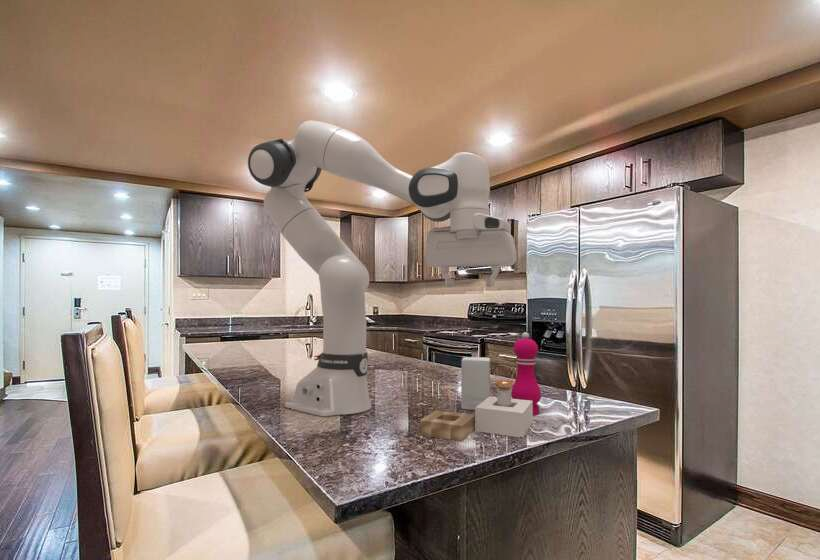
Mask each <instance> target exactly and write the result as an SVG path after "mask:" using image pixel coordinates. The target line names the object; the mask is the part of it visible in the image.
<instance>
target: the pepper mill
mask: <svg viewBox="0 0 820 560" xmlns="http://www.w3.org/2000/svg"><path fill="white" fill-rule="evenodd" d="M521 337H522V338H519V339H517V340H516V341H515V342H514V344H513V352H514V354H515V356H516V357H515V364H516V366H517V371H516V372H517V373H516V374H517V375H516V377H515V380H514V381H513V387H511V399H520V400H530V401H533V416H537V415H539V414H540V405H538V403H539V402H540V400H541V398H542V393H541V389H540V386H539V384H538V381H537V378H536V376H535V374H536V373H535V365H536V364H537V362H536V361H537V358H536V355H538V352H539V346H538V344H537V342H536V341H535V340H534V339H530V333H528V332H526V331H525V332H523V333H522V335H521Z"/></svg>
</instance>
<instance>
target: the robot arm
mask: <svg viewBox="0 0 820 560" xmlns="http://www.w3.org/2000/svg"><path fill="white" fill-rule="evenodd" d="M247 168H248V171H249V174H250V175H251V177H252V178H253V179H254V180H255V182H257V183H259V184H261V185H263V186H266V187H270V189H269V190H268V191H267V193H266V194H265V196H264V199H263V207H264V209H265V211H266V213H267V216H268V217H269V219H270V220H271V221H272V223H273V224H274V226H275V228H276V229H277V230H278V232H279V233H280V234H281V236H282V237H283V238H284V239H285V240H286V241H287V242H288V244H289V245H290V246H291V248H293V249H294V251H295V252H296V254H298V256H299V257H300V259H302V260H303V261H304V263H306V264H307V265H308V266H309V267H310V268H311V269H312V270H313V271H314V272H315V273H316V274H317V275H318V280H319V287H320V288H319V289H320V303H321V311H322V320H323V321H322V323H323V324H322V325H323V333H322V334H323V336H322V337H323V338H322V341H323V342H322V350H323V351H322V352H321V353H320V354H318V355H314V356H313V358H314V359H313V360H314V361H317V365H316V367H315V368H314V369H313V370H311V371H310V372H309V373H307V374H306V375H305V376H304V377H302V379H300V380H299V381H298V382H297V384H296V386H295V390H294V398H292V399H290V400H288V401H286V402H285V403H284V407H285V408H286V407H287V408H286V409H289V408H291V409H290V410H294V409H295V410H294V411H298V412H302V413H307V414H311V415H315V416H320V417H329V416H338V415H353V414H359V413H363V412H366V411H369V410H371V409H372V407H373V406H372V403H371V399H370V393H369V386H368V377H367V376H368V368H369V364H368V363H369V361H368V360H369V358H368V357H369V356H368V353H369V352H367V316H366V315H367V313H366V301H365V299H366V298H365V297H366V296H365V292H366V291H367V290H368V287H369V285H370V274H369V271H368V269H367V267H366V266H365V265H364V264H363V263H362V262H361V260H360V259H359V258H358V257H357V256H356V254H354V252H353V251H352V250H351V249H350V247H349V246H347V245H346V243H345V242H344V241H343V240H342V239H341V237H340V236H339V235H338V234H337V233H336V232H335V230H334V229H333V228H332V227H331V226H330V225H329V223H328V222H327V221H326V220H325V218H324V217H323V216H322V215H321V214H320V212H318V210H317V209H316V208H315V207H314V206H313V204H312V203H311V202H310V201H309V200H308V198H307V197H306V194H305V193H307V192H310V191H311V190H312V189H313V187H314V184H315V183H316V182H317V180H318V179H319V177H320V175H321V173H322V170H323V171H325V172H327V173H329V174H332V175H335V176H337V177H340V178H343V179H345V180H350V181H353V182H356V183H360V184H364V185H368V186H370V187H374V188H378V189H380V190H382V191H385V192H386V193H390V194H391V195H394V196H395V197H397V198H399V199H402V200H404V201H406V202H409V203H410V204H412V205H414V206H415V207H416V208H417V209H418V210H419V211H420V212H421V213H422V215H423V216H424V217H425V218H426V219H428V220H429V221H431V222H437V223H441V222H445V221H447V220H449V226H443V227H433V228H432V229H430V230H429V231H428V233H427V234H426V244H427V245H426V252H425V253H426V254H425V263H426V264H427V265H426V266H428V267H430V268H440V273H441V275H442V277H443V278H444V286H445V287H446V288H451V287H454V285H455V284H454V281H455V279H454V278H450V276H449V272H450V268H460V267H461V268H463V267H464V268H466V267H490V270H491V271H492V273H491V275H490V277H489V278H487V277H486V278H485V282H486V283H485V287H489V288H494V287H495V280H496V278H497V276H498V274H499V272H500V269H501V266H502V267H503V266H514V264H515V263H516V262H517V250H516V243H515V239H514V236H513V235H512V234H510V232H511V229H512V226H511V224H510V222H508V220H505V218H504V219H503V218H500V217H496V216H492V215H490V214H491V212H490V207H489V196H490V193H491V192H490V191H491V184H490V183H491V181H490V179H491V178H490V170H489V165H488V162H487V160H486V159H485V158H484V157H483V156H482V155H481V154H477V153H475V152H471V151H460V152H456V153H454V154H453V155H452V156H451V157H450V158H449V159H447V160H446V161H444V162H441V163H440V164H437V165H434V166H432V167H425V168H422V169H420V170H418V171H416V172H415V173H414V174H413V175H411V174H409V173H407V172H405V171H403V170H400V169H398V168H396V167H395V166H393V165H392V164H391V163H389V162H388V160H386V159H385V158H384V157H382V155H381V154H380V153H379V152H378V151H377V150H376V149H375V147H373V146H372V145H371V144H370V142H368V140H367V141H366V140H365V139H364V138H363V137H361V136H360V135H358V134H356V133H354V132H352V131H350V130H348V129H346V128H344V127H341V126H338V125H335V124H332V123H329V122H324V121H320V120H311V119H310V120H306V121H304V122H302V123H301V124H300V125H299V126H298V128H297V129H296V132H295V134H294V137H293V139H291V140H286V139H284V138H279V139H275V140H270V141H265V142H262V143H259V144H257V145H255V146H254V147H253V148H252V149H251V150H250V152H249V154H248V157H247Z"/></svg>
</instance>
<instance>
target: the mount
mask: <svg viewBox="0 0 820 560" xmlns="http://www.w3.org/2000/svg"><path fill="white" fill-rule="evenodd" d="M419 420H420V421H419V422H420V425H419V426H420V427H419V429H420V431H419V432H420V433H419V435H420V436H423V437H424V436H425V437H431V438H432V437H433V438H439V439H444V440H452V441H458V442H463V441H464V440H465V439H466V438H467V437H468V436H469V435H471V433H472V432H474V431H475V414H469V413H461V412H453V411H444V410H437V409H436V410H435V411H433V412H431V413H430V414H428V415H426V416H425V417H423V418H422V419H419Z"/></svg>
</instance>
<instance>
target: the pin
mask: <svg viewBox="0 0 820 560" xmlns="http://www.w3.org/2000/svg"><path fill="white" fill-rule="evenodd" d="M513 385H514V381H513V380H510V379H496V380H495V386H496V388H497V389H496V390H497V393H496V394H497V396H496V397H497V406H505V407H511V399H512V396H511V392H512V387H513Z"/></svg>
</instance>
